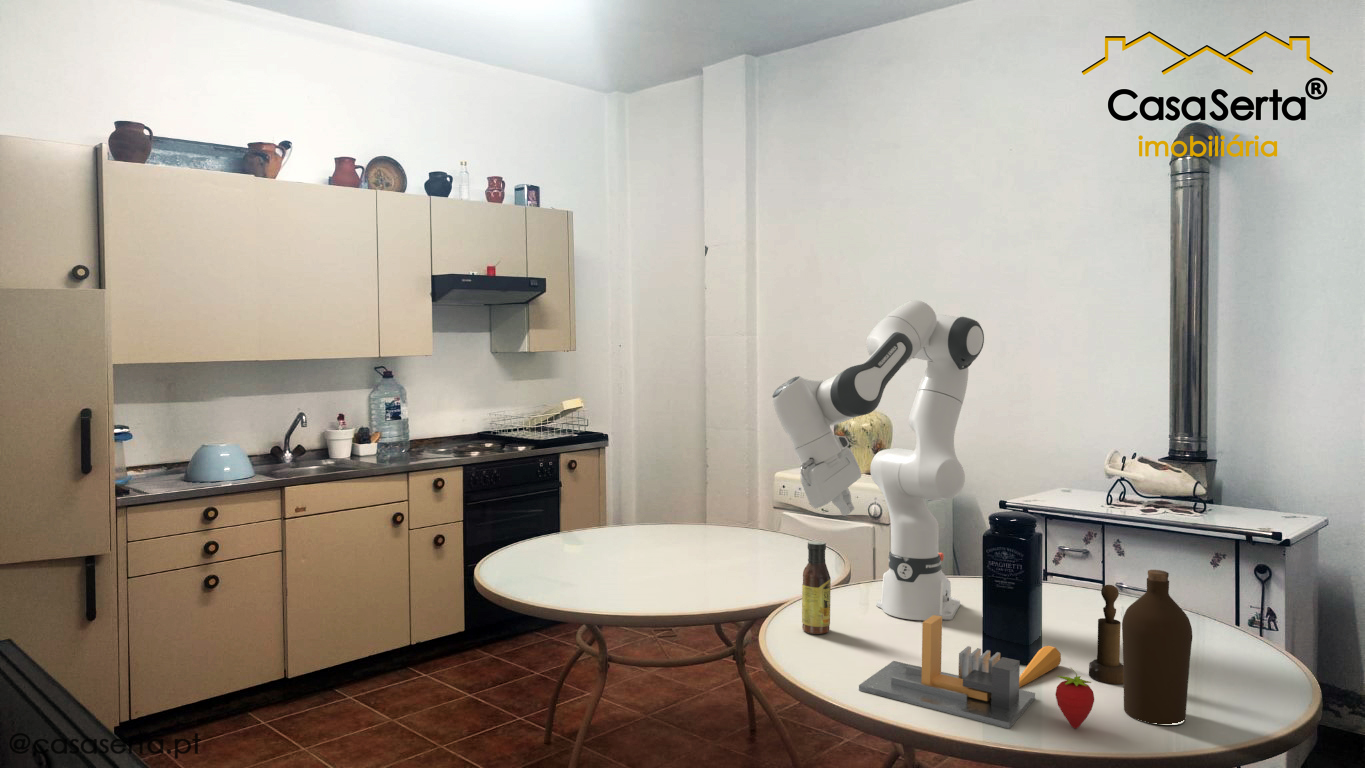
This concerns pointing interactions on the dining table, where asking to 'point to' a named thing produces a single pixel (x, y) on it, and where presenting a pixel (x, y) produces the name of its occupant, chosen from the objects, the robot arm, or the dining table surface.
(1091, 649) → the dining table surface
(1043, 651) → the carrot
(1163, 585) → the olive oil
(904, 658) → the dining table surface
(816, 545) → the sauce bottle
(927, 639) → the orange l-shaped block
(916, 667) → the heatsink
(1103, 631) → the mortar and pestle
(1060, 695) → the strawberry
